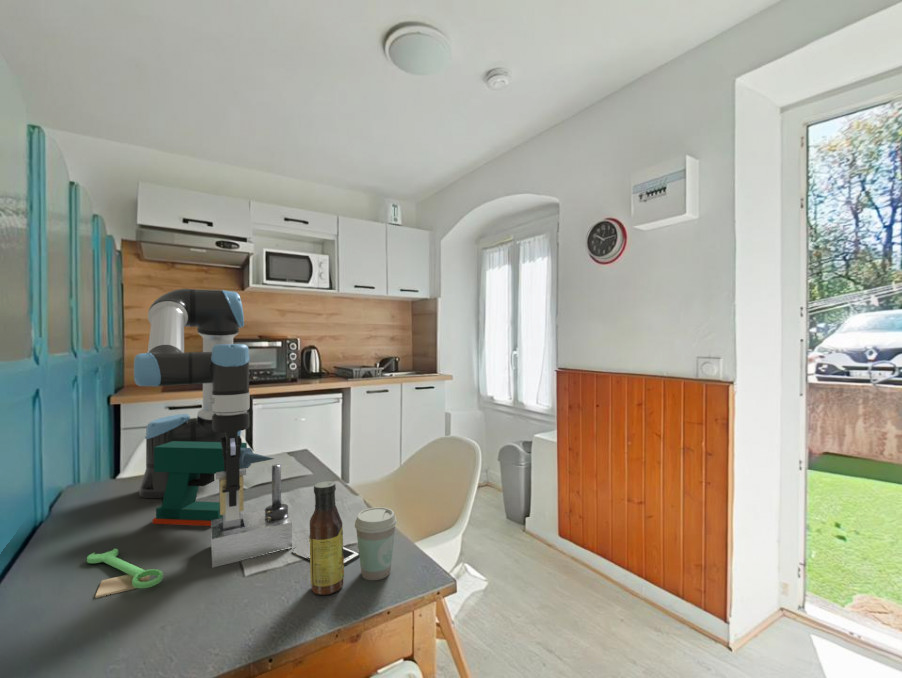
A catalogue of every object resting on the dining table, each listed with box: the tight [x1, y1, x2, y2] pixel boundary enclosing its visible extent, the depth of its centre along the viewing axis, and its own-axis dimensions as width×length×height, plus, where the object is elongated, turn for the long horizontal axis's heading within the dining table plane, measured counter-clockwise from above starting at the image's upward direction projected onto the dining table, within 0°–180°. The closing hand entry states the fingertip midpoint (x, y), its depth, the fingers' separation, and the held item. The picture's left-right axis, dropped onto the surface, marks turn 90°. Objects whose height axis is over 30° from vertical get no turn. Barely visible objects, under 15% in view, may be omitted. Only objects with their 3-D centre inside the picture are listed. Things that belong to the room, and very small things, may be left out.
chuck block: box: [210, 463, 293, 568], centre depth 99 cm, size 11×16×18 cm
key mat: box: [94, 574, 151, 599], centre depth 84 cm, size 6×8×1 cm
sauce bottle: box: [308, 480, 345, 596], centre depth 83 cm, size 7×6×20 cm
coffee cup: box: [354, 506, 398, 581], centre depth 88 cm, size 8×8×12 cm
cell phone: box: [292, 545, 360, 567], centre depth 96 cm, size 8×15×1 cm, turn 55°
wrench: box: [86, 548, 164, 589], centre depth 89 cm, size 25×2×5 cm
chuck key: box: [215, 468, 247, 531], centre depth 97 cm, size 6×5×13 cm
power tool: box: [152, 441, 275, 527], centre depth 114 cm, size 32×7×20 cm, turn 84°
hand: (231, 515), depth 97 cm, fingers closed on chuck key, 5 cm apart
